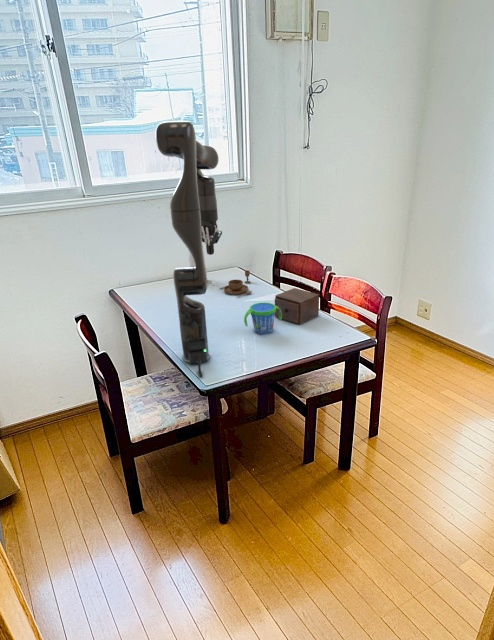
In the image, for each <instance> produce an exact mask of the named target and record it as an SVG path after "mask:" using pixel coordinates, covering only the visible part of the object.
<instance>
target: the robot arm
mask: <svg viewBox="0 0 494 640" xmlns="http://www.w3.org/2000/svg"><path fill="white" fill-rule="evenodd" d="M155 141H156V142H155V143H156V147H157V149H158V151H159V152H160V154H162V155H163V156H165V157H170V158H172V157H173V158H175V157H176V158H178V159H181V160H183V167H182V168H183V169H182V173H181V177H180V180H179V181H178V184H177V186H176V188H175V190H174V192H173V194H172V197H171V199H170V203H169V209H170V219H171V225H172V229H173V230H174V232H175V233H176V235H177V236H178V238H179V240H180V241H182V243H183V244H184V245H185V247H186V248H187V251H188V250H189V251H190V253H191V255H192V257H193V259H194V262H195V265H196V266H195V267H189V266H179V267H175V268H174V270H173V273H172V274H173V275H172V276H173V277H172V278H173V279H172V280H173V285H174V291H175V295H176V296H175V298H176V303H177V314H178V322H179V333H180V340H181V347H182V358H183V361H184V362H185V363H188V364H189V365H195V364H197V365H198V367H197V369H198V374H199V377H200V378H202V377H203V374H202V370H201V369H202V367H201V363H207V362H208V361H209V359H210V353H209V351H210V350H209V340H208V331H207V330H208V329H207V319H206V318H207V317H206V308H205V305H204V304H203V303H202V302H200V301H197V300H194V299H192V298H190V297H189V296H201V295H205V294H206V293H207V290H208V277H207V278H206V270H205V265H206V262H205V263H204V258H205V254H204V255H203V250H204V246H203V247H202V244H203V243H204V244H205V249H206V254H207V255H209V256H211V255H214V253H215V244H218V242H219V240H220V238H221V237H222V235H223V231H222V230H219V229H218V224H217V222H218V220H219V217H218V216H219V215H218V214H219V213H218V201H217V196H216V194H217V193H216V182H215V178H213V177H212V176H210V175H206V174H204V173H203V172H202V170H214V169H216V168H217V167H218V165H219V154H218V152H217V150H216V149H215V147H213V146H209V145H207V144H203V143H201V142H199V141H198V140H197V137H196V130H195V127H194V125H193V123H192V122H191V121H190V120H189V121H188V120H177V121H176V120H174V121H163V122H160V123H159V124H158V125H157V127H156V129H155ZM189 251H188V252H189Z"/></svg>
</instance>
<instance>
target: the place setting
mask: <svg viewBox="0 0 494 640" xmlns="http://www.w3.org/2000/svg"><path fill="white" fill-rule="evenodd" d="M244 276H245V277H246V281H243V280H241V279H231V280H229V281H228V284H227V285H225V286H224V287H220V288H219V289H220V290H222V289H223V291H224V292H225V293H226V294H228V295H232V296H233V295H235V296H237V295H238V296H237V298H239V297H242V296H244V295H250V294H252V291H251V290H249V286H248V285H247V284H250V283H251V281H249V280H250V279H249V277H250V270H244ZM244 283H245V284H244ZM248 290H249V291H248Z"/></svg>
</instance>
